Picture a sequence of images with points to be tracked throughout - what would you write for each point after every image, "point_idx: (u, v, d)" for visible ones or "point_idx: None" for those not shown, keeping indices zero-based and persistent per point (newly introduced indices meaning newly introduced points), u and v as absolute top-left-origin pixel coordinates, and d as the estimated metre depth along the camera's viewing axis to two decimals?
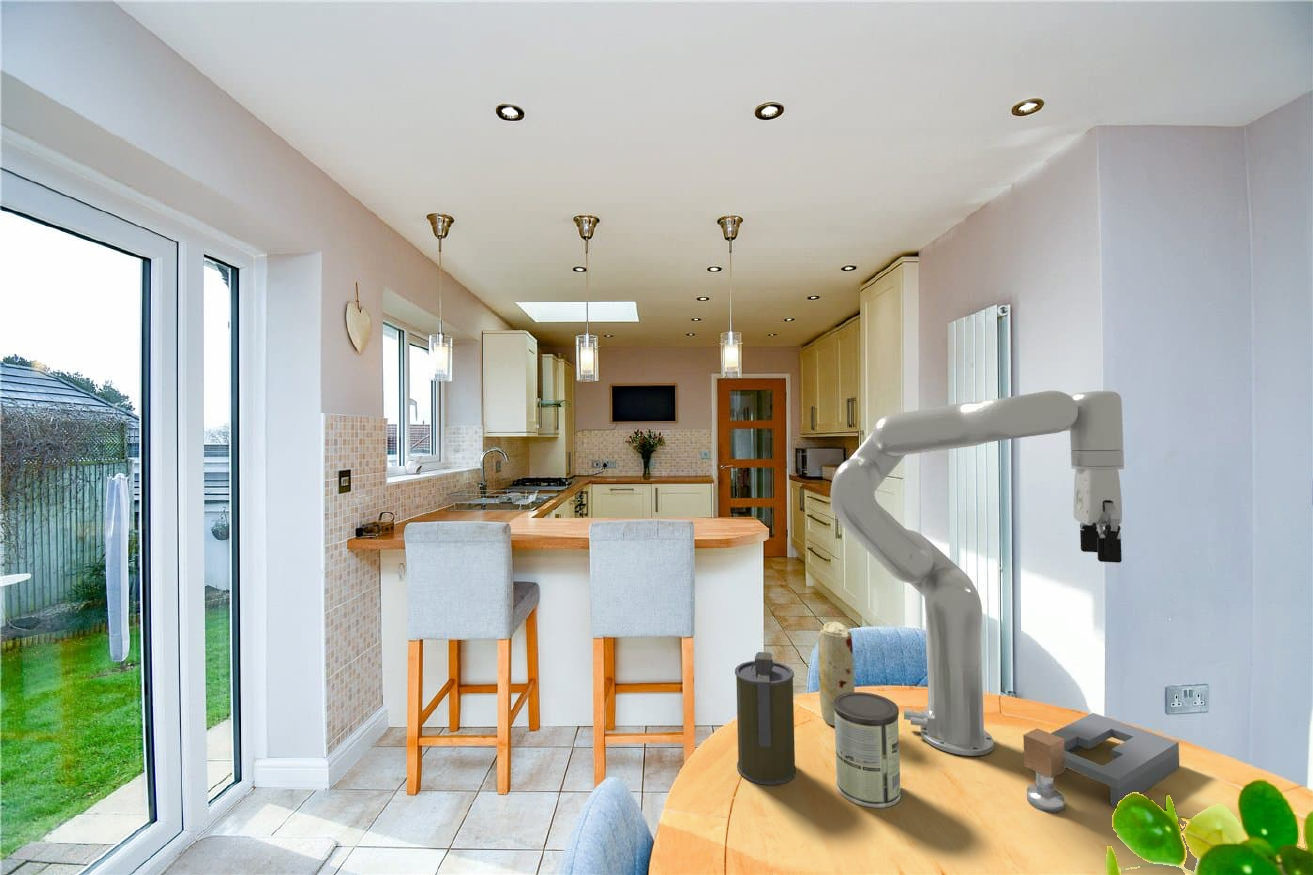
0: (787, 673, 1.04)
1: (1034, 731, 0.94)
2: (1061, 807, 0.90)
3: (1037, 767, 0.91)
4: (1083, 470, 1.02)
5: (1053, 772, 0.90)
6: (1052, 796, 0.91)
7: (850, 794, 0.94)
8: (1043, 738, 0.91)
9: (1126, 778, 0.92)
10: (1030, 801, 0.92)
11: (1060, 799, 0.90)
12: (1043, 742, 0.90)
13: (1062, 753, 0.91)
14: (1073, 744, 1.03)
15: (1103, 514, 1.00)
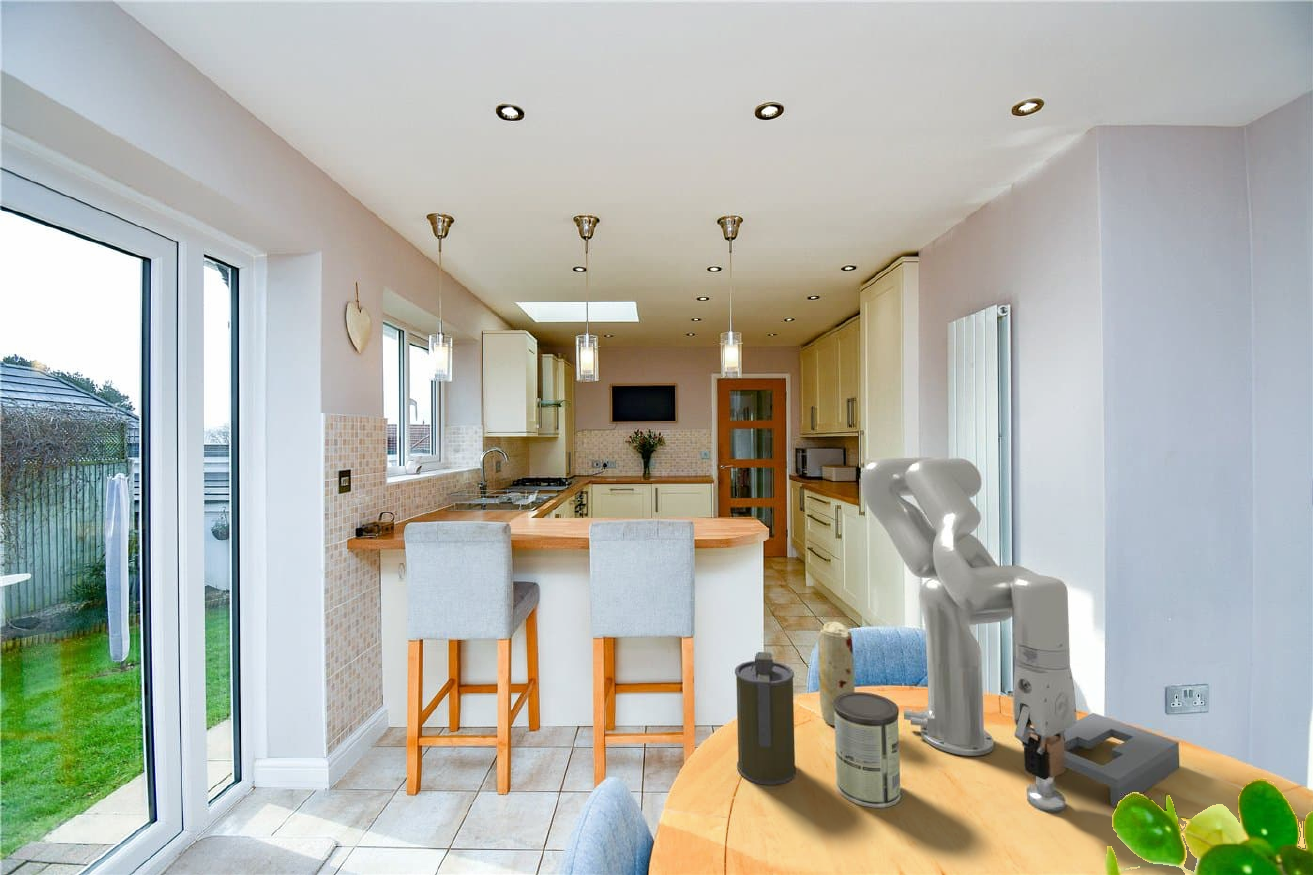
0: (787, 673, 1.04)
1: None
2: (1061, 807, 0.90)
3: None
4: None
5: (1053, 772, 0.90)
6: (1052, 796, 0.91)
7: (850, 794, 0.94)
8: None
9: (1126, 778, 0.92)
10: (1030, 801, 0.92)
11: (1060, 799, 0.90)
12: None
13: (1063, 753, 0.91)
14: (1073, 744, 1.03)
15: None
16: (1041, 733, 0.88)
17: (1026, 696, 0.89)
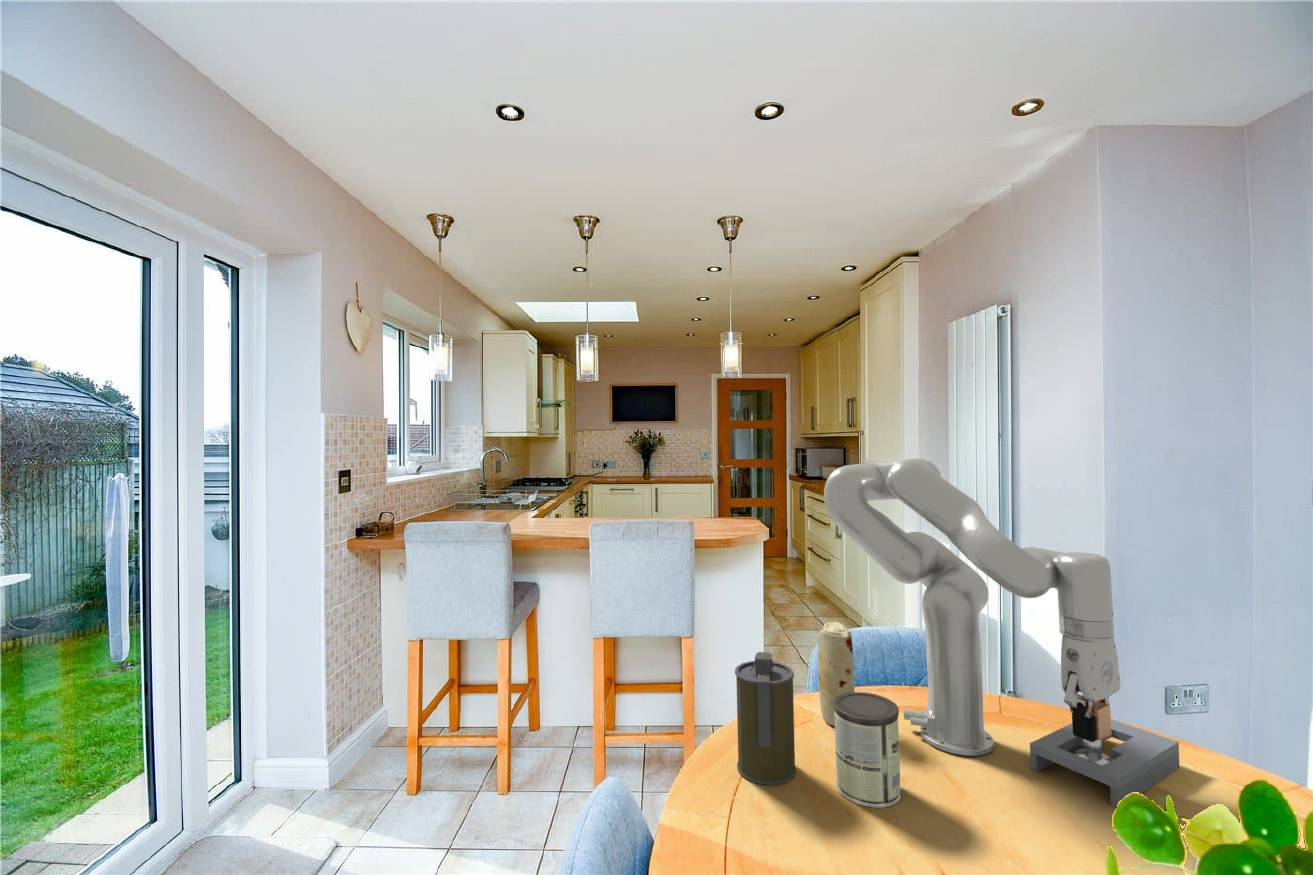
0: (787, 673, 1.04)
1: None
2: None
3: None
4: None
5: (1101, 735, 0.96)
6: (1100, 758, 0.97)
7: (850, 794, 0.94)
8: None
9: (1126, 778, 0.92)
10: None
11: (1108, 760, 0.97)
12: None
13: (1109, 718, 0.98)
14: (1073, 744, 1.03)
15: None
16: (1089, 698, 0.94)
17: (1074, 664, 0.96)
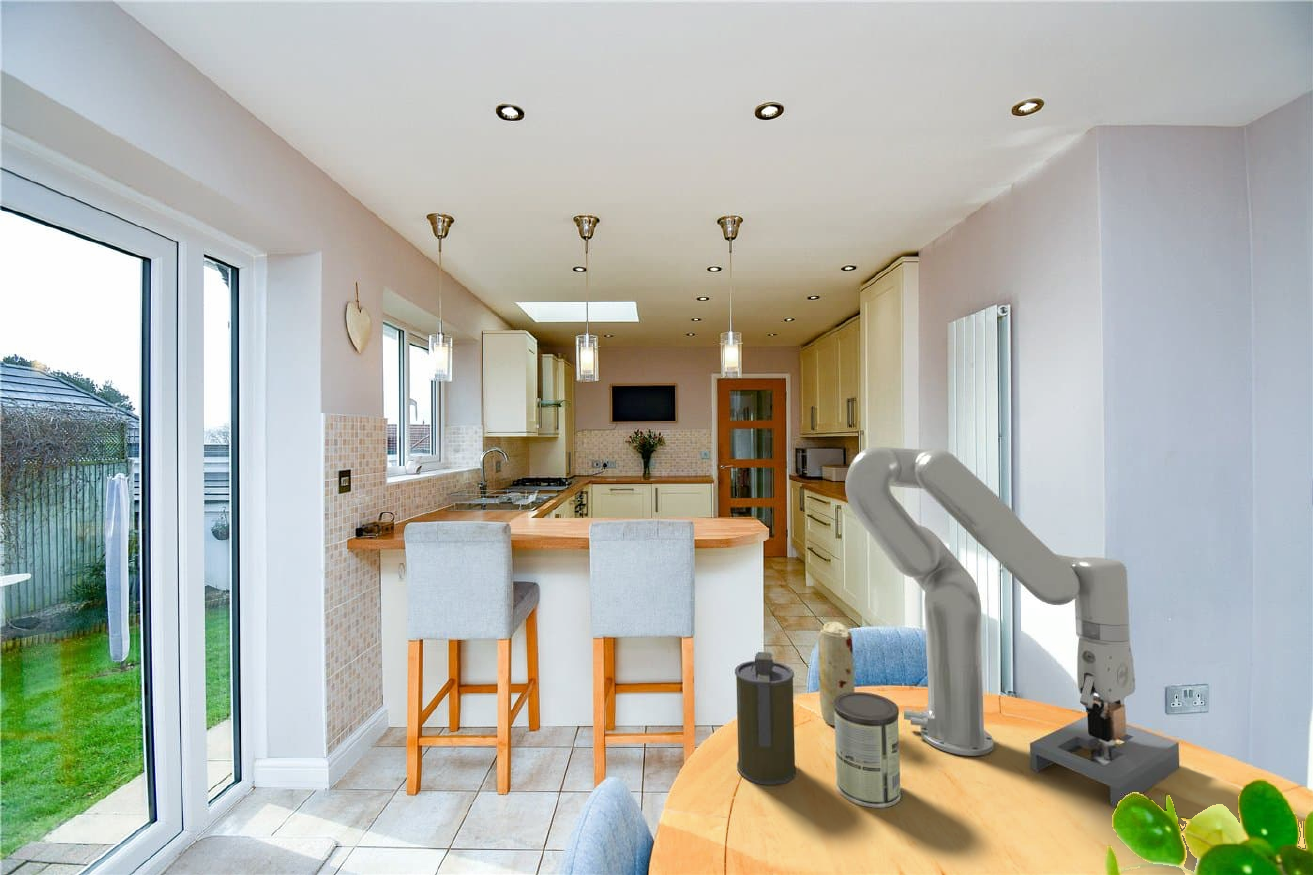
0: (787, 673, 1.04)
1: None
2: None
3: None
4: None
5: (1116, 735, 0.99)
6: None
7: (850, 794, 0.94)
8: None
9: (1126, 778, 0.92)
10: (1094, 762, 1.01)
11: None
12: None
13: (1124, 719, 1.00)
14: (1073, 744, 1.03)
15: None
16: (1105, 699, 0.97)
17: (1090, 666, 0.99)
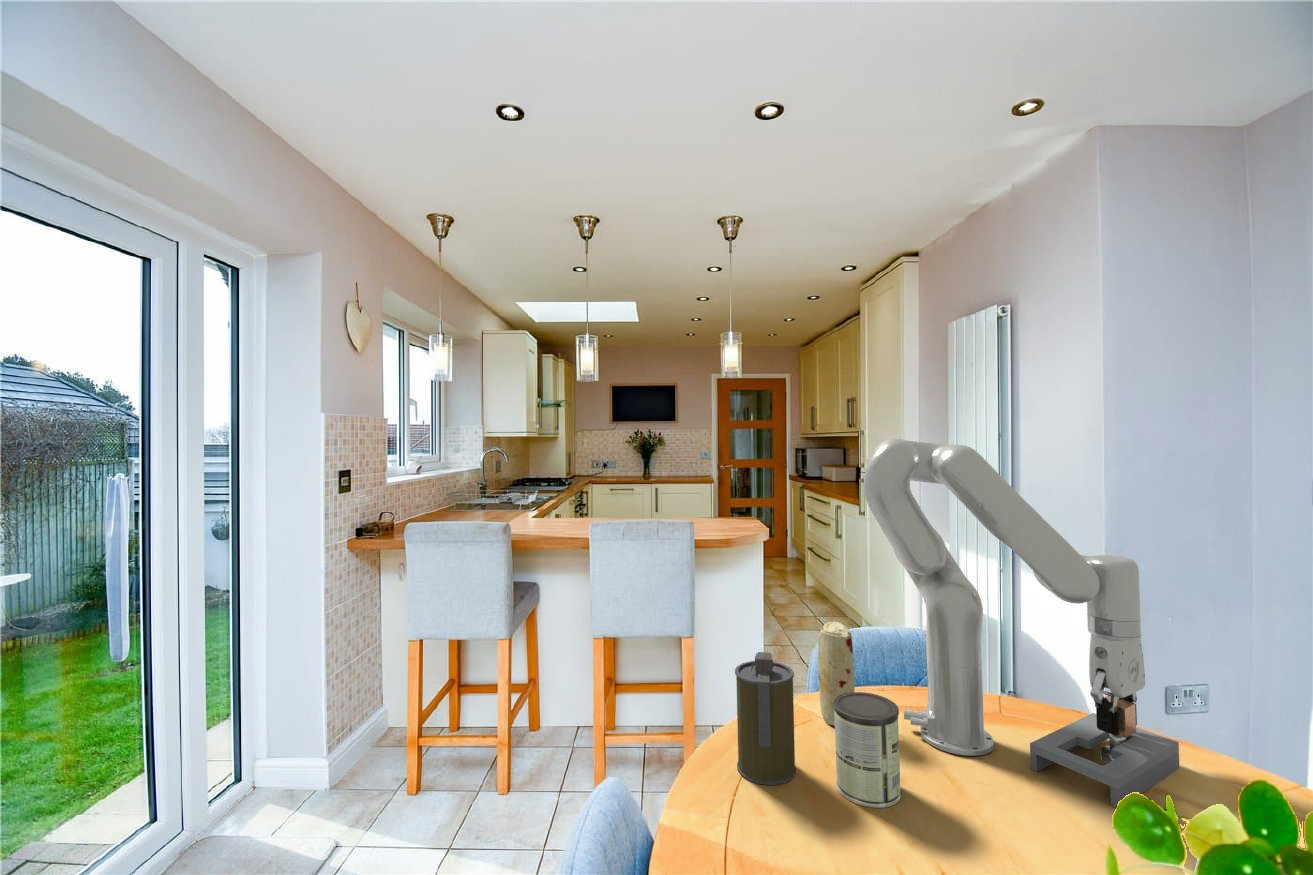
0: (787, 673, 1.04)
1: (1107, 698, 1.05)
2: None
3: None
4: None
5: (1127, 732, 1.01)
6: None
7: (850, 794, 0.94)
8: None
9: (1126, 778, 0.92)
10: (1105, 759, 1.03)
11: None
12: (1117, 706, 1.02)
13: (1134, 716, 1.03)
14: (1073, 744, 1.03)
15: None
16: (1117, 694, 0.99)
17: (1102, 661, 1.01)
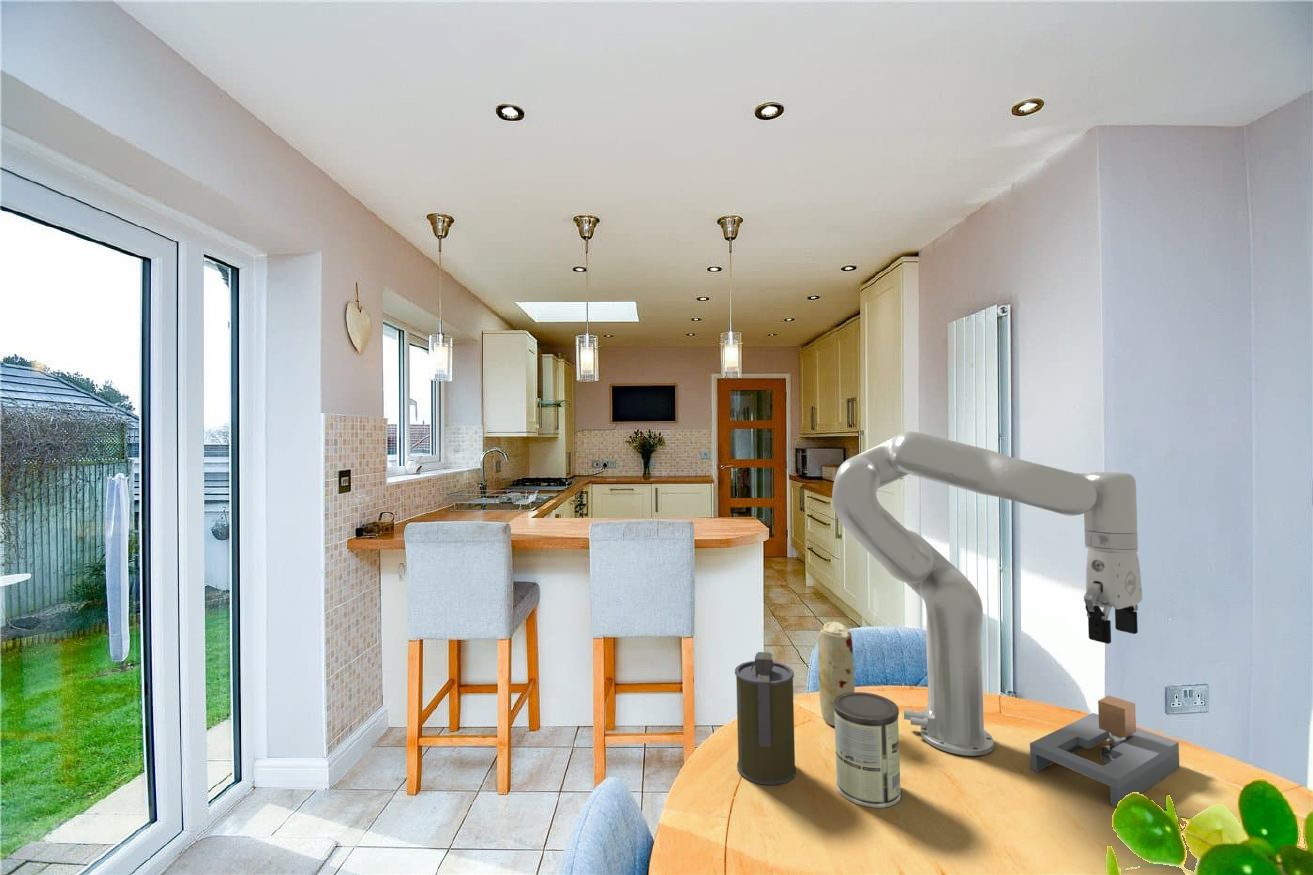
0: (787, 673, 1.04)
1: (1107, 698, 1.05)
2: None
3: (1112, 729, 1.02)
4: None
5: (1127, 732, 1.01)
6: None
7: (850, 794, 0.94)
8: (1116, 703, 1.03)
9: (1126, 778, 0.92)
10: (1105, 759, 1.03)
11: None
12: (1117, 706, 1.02)
13: (1134, 716, 1.03)
14: (1073, 744, 1.03)
15: None
16: (1113, 604, 1.00)
17: (1099, 574, 1.01)
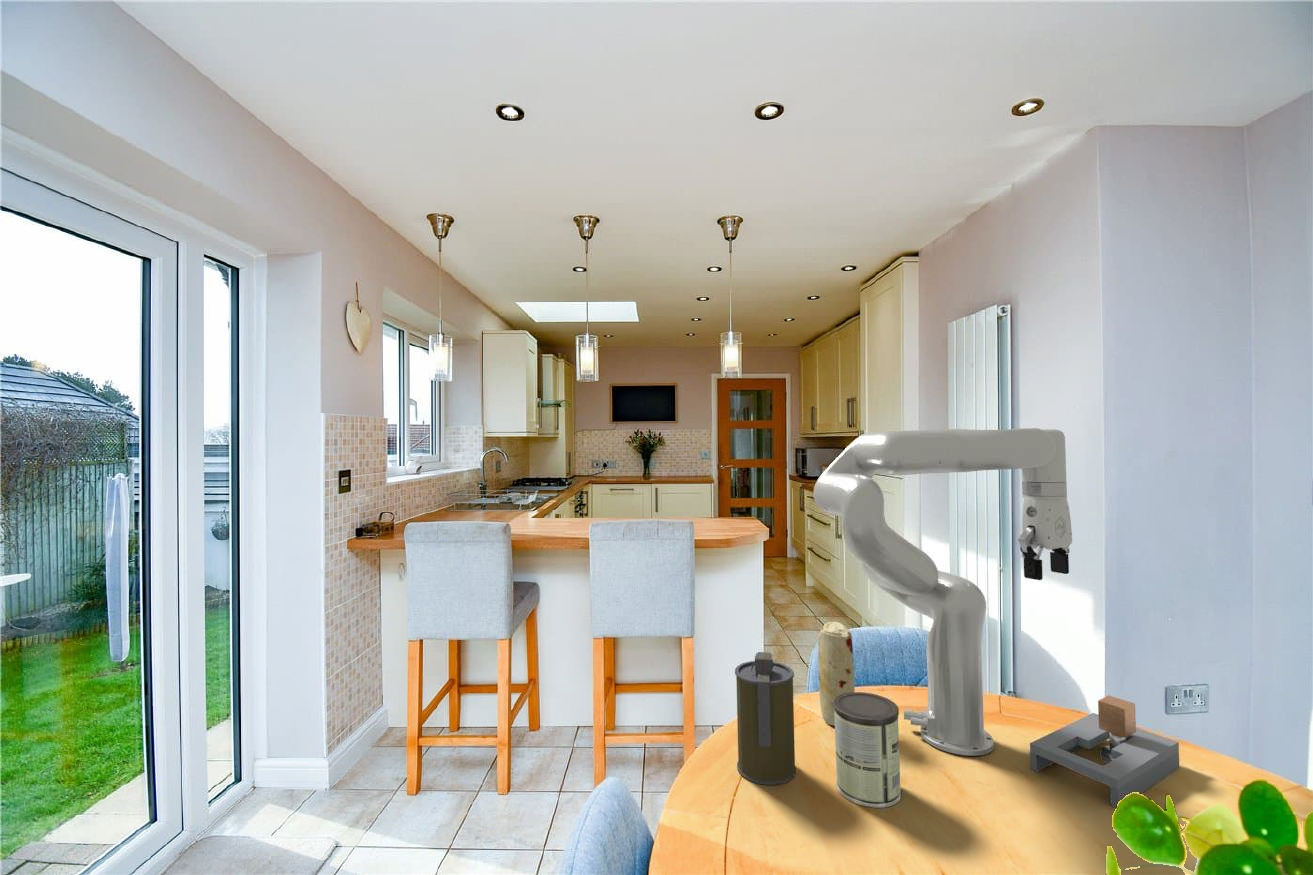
0: (787, 673, 1.04)
1: (1107, 698, 1.05)
2: None
3: (1111, 729, 1.02)
4: (1063, 499, 1.15)
5: (1127, 732, 1.01)
6: None
7: (850, 794, 0.94)
8: (1116, 703, 1.03)
9: (1126, 778, 0.92)
10: (1105, 759, 1.03)
11: None
12: (1117, 706, 1.02)
13: (1134, 716, 1.03)
14: (1073, 744, 1.03)
15: None
16: (1044, 545, 1.12)
17: (1032, 519, 1.14)
